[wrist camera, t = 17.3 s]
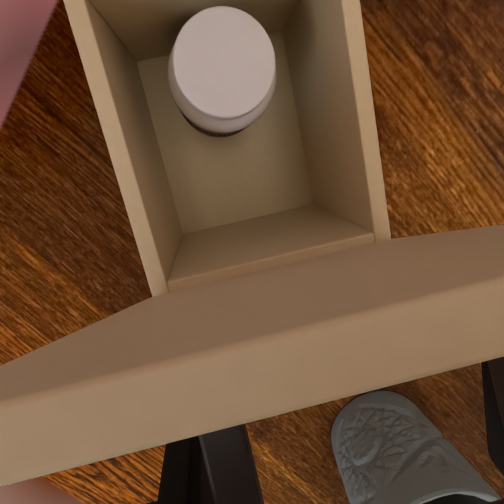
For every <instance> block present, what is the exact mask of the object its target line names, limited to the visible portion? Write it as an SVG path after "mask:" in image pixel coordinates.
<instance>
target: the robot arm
mask: <svg viewBox="0 0 504 504" xmlns="http://www.w3.org/2000/svg"><path fill="white" fill-rule="evenodd" d="M481 365H482V378H483V391H484V404H485V417H486V430H487V442H488V451H489V455H490V457H491V459H492V461H493V463H494V464H495V466H496V467H497V468H498V469H499V470H500V471H501V472H502V474H503V475H504V427H503V423H502V419H501V415H500V411H499V407H498V403H497V398H496V394H495V390H494V386H493V382H492V378H491V374H490V370H489V365H488V361H484V362H481ZM147 504H214V499H213V495H212V491H211V487H210V483H209V478H208V474H207V470H206V466H205V461H204V457H203V453H202V449H201V445H200V440H199V436H194V437H190V438H187V439H183V440H179V441H175V442H171V443H167V444H166V449H165V455H164V462H163V468H162V475H161V481H160V488H159V494H158V501H155V502H151V503H147Z"/></svg>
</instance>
